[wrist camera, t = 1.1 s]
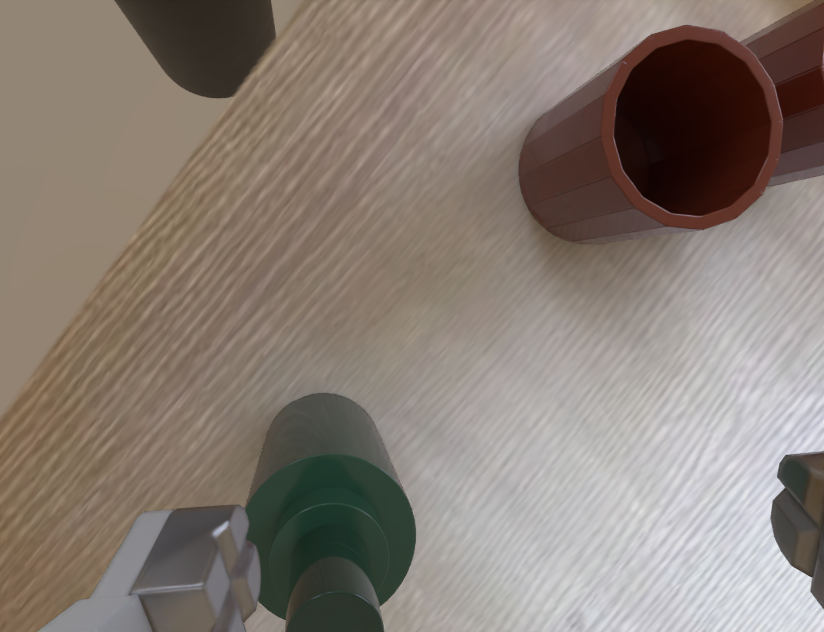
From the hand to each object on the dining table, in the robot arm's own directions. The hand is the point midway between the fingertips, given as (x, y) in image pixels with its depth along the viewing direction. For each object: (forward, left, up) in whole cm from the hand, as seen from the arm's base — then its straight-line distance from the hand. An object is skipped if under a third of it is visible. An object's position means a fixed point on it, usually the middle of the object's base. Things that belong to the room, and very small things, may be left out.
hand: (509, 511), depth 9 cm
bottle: (+3, -6, -25) cm, 25 cm away
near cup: (+1, +16, -25) cm, 29 cm away
